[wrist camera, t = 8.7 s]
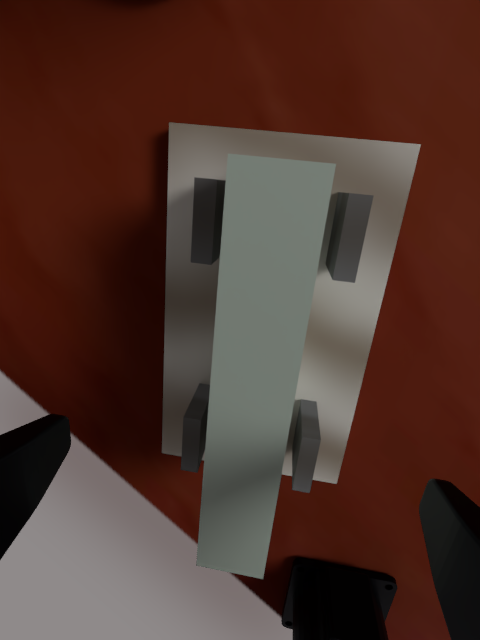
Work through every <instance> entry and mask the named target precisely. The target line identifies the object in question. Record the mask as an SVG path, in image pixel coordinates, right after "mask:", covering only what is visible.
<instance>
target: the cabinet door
mask: <svg viewBox="0 0 480 640" xmlns="http://www.w3.org/2000/svg"><path fill="white" fill-rule="evenodd" d="M335 167H336V164H333V163H322V162H312V161H301V160H291V159H280V158H270V157H259V156H249V155H238V154H228V157H227V171H226V184H225V197H224V210H223V223H222V236H221V249H220V262H219V275H218V288H217V301H216V315H215V328H214V341H213V354H212V367H211V380H210V393H209V406H208V419H207V432H206V446H205V459H204V472H203V485H202V498H201V511H200V524H199V537H198V550H197V551H198V552H197V564H196V565H197V566H201V567H206V568H211V569H216V570H221V571H226V572H230V573H235V574H240V575H245V576H250V577H255V578H260V579H263V576H264V571H265V565H266V559H267V554H268V548H269V542H270V537H271V531H272V525H273V520H274V514H275V508H276V503H277V497H278V491H279V486H280V480H281V474H282V469H283V463H284V457H285V451H286V446H287V440H288V434H289V429H290V423H291V417H292V412H293V406H294V400H295V395H296V389H297V383H298V378H299V372H300V366H301V361H302V355H303V349H304V344H305V338H306V332H307V326H308V321H309V315H310V309H311V304H312V298H313V292H314V287H315V281H316V275H317V270H318V264H319V258H320V253H321V247H322V241H323V236H324V230H325V224H326V219H327V213H328V207H329V202H330V196H331V190H332V184H333V179H334V173H335Z"/></svg>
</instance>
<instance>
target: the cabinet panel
mask: <svg viewBox="0 0 480 640" xmlns="http://www.w3.org/2000/svg"><path fill="white" fill-rule="evenodd" d="M420 146H421V144H410V143H398V142H387V141H375V140H364V139H353V138H341V137H330V136H318V135H307V134H296V133H284V132H273V131H261V130H250V129H239V128H227V127H216V126H204V125H193V124H182V123H170V122H169V152H168V197H167V243H166V288H165V334H164V379H163V425H162V453H165V454H170V455H176V456H182V457H181V470H185V471H191V472H196V473H197V472H198V469H199V466H200V463H201V460H204V459H205V446H206V432H207V419H208V406H209V393H210V380H211V367H212V354H213V341H214V328H215V315H216V301H217V288H218V275H219V262H220V249H221V236H222V223H223V210H224V197H225V184H226V171H227V157H228V154H238V155H249V156H259V157H270V158H280V159H291V160H301V161H312V162H322V163H333V164H336V167H335V173H334V179H333V184H332V190H331V196H330V202H329V207H328V213H327V219H326V224H325V230H324V236H323V241H322V247H321V253H320V258H319V264H318V270H317V275H316V281H315V287H314V292H313V298H312V304H311V309H310V315H309V321H308V326H307V332H306V338H305V344H304V349H303V355H302V361H301V366H300V372H299V378H298V383H297V389H296V395H295V400H294V406H293V412H292V417H291V423H290V429H289V434H288V440H287V446H286V451H285V457H284V463H283V469H282V474H284V475H289V476H292V490H296V491H302V492H307V493H310V489H311V484H312V480H317V481H323V482H329V483H334V484H337V480H338V476H339V472H340V468H341V464H342V460H343V456H344V452H345V448H346V444H347V440H348V436H349V432H350V428H351V424H352V420H353V416H354V412H355V408H356V404H357V400H358V396H359V392H360V388H361V384H362V380H363V376H364V372H365V368H366V363H367V359H368V355H369V351H370V347H371V343H372V339H373V335H374V331H375V327H376V323H377V319H378V315H379V311H380V307H381V303H382V299H383V295H384V291H385V287H386V283H387V279H388V275H389V271H390V267H391V263H392V259H393V255H394V251H395V247H396V243H397V239H398V235H399V231H400V227H401V223H402V218H403V214H404V210H405V206H406V202H407V198H408V194H409V190H410V186H411V182H412V178H413V174H414V170H415V166H416V162H417V158H418V154H419V150H420Z"/></svg>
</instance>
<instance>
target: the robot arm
mask: <svg viewBox="0 0 480 640" xmlns="http://www.w3.org/2000/svg"><path fill="white" fill-rule="evenodd" d="M70 445H71V436H70V426H69V419H68V418H67V417H66V416H63V415H57V414H50V415H47V416H45V417H42V418H40V419H38V420H35V421H33V422H31V423H28V424H26V425H24V426H21V427H19V428H16V429H14V430H11V431H9V432H7V433H4V434H2V435H0V560H1V558H2V557H3V555H4V554H5V552H6V551H7V549H8V548H9V547H10V545H11V544H12V542H13V541H14V539H15V538H16V536H17V535H18V533H19V532H20V531H21V529H22V528H23V526H24V525H25V524H26V522H27V521H28V519H29V518H30V517H31V515H32V513H33V512H34V510H35V509H36V508H37V506H38V504H39V502H40V501H41V499H42V497H43V496H44V494H45V492H46V490H47V489H48V487H49V485H50V483H51V482H52V480H53V478H54V476H55V475H56V473H57V471H58V469H59V468H60V466H61V464H62V462H63V460H64V459H65V457H66V455H67V453H68V451H69V449H70ZM419 514H420V519H421V524H422V529H423V533H424V538H425V543H426V548H427V553H428V557H429V562H430V567H431V572H432V576H433V581H434V585H435V588H436V592H437V595H438V599H439V602H440V605H441V608H442V611H443V615H444V618H445V621H446V624H447V627H448V631H449V634H450V637H451V640H480V507H479V506H477V505H476V504H475V503H474V502H473V501H472V500H471V499H469V498H468V497H467V496H466V495H465V494H464V493H463V492H461V491H460V490H459V489H458V488H457V487H456V486H454V485H453V484H452V483H451V482H449V481H446V480H440V479H430V480H429V481H428V483H427V486H426V488H425V491H424V494H423V497H422V499H421V502H420V506H419ZM396 590H397V584H396V580H395V578H393V577H392V576H389V575H384V574H379V573H374V572H369V571H364V570H359V569H354V568H349V567H344V566H338V565H333V564H328V563H323V562H318V561H313V560H308V559H303V558H298V559H295V560H294V562H293V566H292V570H291V575H290V580H289V584H288V589H287V594H286V598H285V603H284V608H283V612H282V625H283V626H284V627H286V628H290V629H293V640H388V635H387V631H386V626H385V620H386V617H387V614H388V612H389V609H390V606H391V604H392V601H393V598H394V596H395V593H396Z"/></svg>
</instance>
